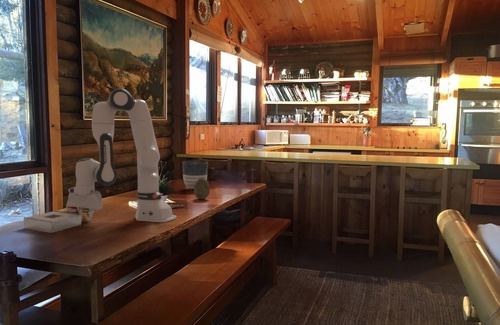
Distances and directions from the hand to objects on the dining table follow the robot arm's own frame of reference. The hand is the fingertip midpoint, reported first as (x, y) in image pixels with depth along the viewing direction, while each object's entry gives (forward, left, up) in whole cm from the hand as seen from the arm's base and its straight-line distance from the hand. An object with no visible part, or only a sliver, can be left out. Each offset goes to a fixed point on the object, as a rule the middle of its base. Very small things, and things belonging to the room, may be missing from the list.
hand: (85, 216), depth 217 cm
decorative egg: (-20, -83, -3) cm, 85 cm away
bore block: (+6, +15, -3) cm, 16 cm away
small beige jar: (0, 0, -3) cm, 3 cm away
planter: (+6, -117, -3) cm, 117 cm away
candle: (+20, -13, -3) cm, 24 cm away
